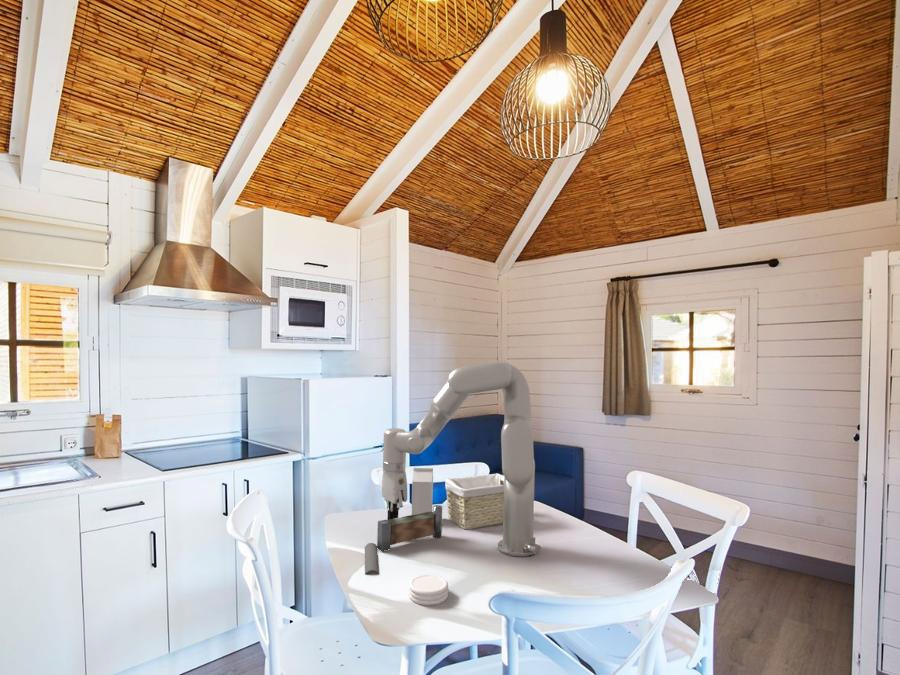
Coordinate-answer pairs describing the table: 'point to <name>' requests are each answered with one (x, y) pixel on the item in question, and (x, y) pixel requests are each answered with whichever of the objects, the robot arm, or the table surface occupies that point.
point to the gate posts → (385, 529)
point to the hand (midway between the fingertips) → (392, 521)
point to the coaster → (428, 590)
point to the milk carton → (422, 490)
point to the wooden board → (411, 527)
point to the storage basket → (475, 500)
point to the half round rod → (371, 559)
